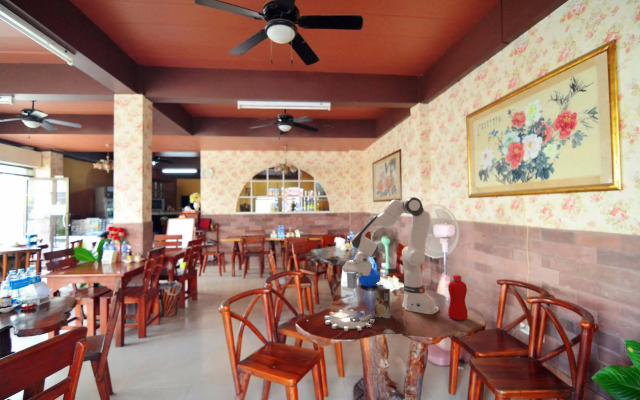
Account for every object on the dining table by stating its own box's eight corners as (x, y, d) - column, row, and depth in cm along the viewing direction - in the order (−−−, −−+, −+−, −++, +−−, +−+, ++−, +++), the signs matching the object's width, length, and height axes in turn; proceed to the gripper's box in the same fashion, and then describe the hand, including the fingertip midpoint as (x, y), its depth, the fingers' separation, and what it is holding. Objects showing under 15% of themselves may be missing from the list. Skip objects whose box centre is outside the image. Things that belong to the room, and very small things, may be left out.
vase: (384, 287, 244) (383, 263, 244) (362, 289, 240) (362, 265, 240) (375, 281, 261) (374, 259, 262) (354, 283, 258) (354, 260, 258)
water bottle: (444, 317, 180) (443, 275, 180) (455, 313, 186) (455, 273, 186) (458, 322, 172) (457, 278, 172) (469, 318, 178) (469, 276, 178)
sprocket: (383, 319, 178) (383, 316, 178) (354, 336, 157) (354, 332, 157) (344, 308, 198) (344, 305, 198) (314, 321, 176) (314, 318, 176)
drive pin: (357, 287, 200) (356, 272, 200) (352, 289, 196) (352, 273, 196) (351, 286, 203) (351, 271, 203) (347, 287, 199) (346, 272, 199)
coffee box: (391, 315, 185) (390, 288, 185) (389, 318, 179) (389, 291, 179) (376, 313, 188) (375, 287, 189) (374, 317, 182) (373, 290, 183)
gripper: (345, 257, 212) (337, 273, 205) (370, 260, 198) (362, 278, 191) (349, 262, 215) (341, 279, 208) (374, 265, 201) (366, 283, 194)
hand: (351, 278), depth 199 cm, fingers closed on drive pin, 4 cm apart
